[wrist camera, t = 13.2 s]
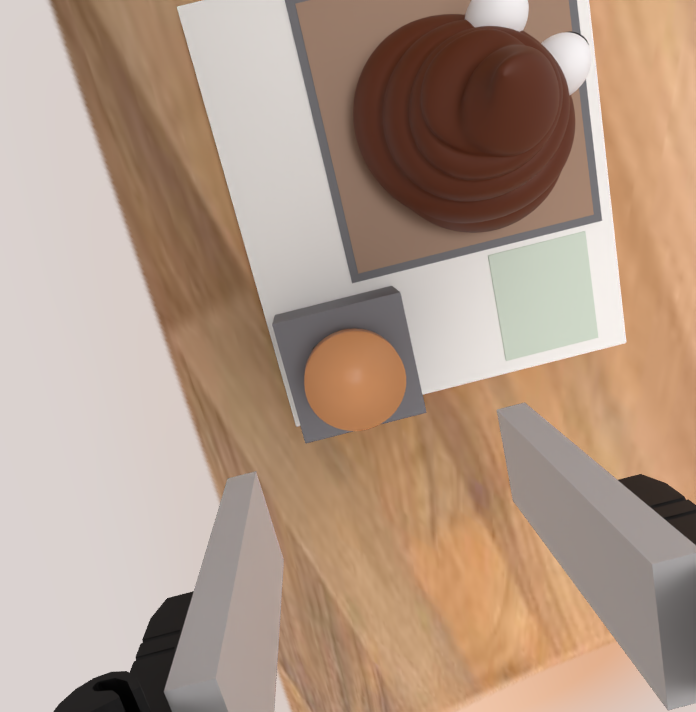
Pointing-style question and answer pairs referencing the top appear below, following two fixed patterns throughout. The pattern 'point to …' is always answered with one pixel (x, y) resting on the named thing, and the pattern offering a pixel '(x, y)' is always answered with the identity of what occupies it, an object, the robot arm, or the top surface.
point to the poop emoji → (470, 114)
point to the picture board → (393, 207)
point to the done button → (354, 379)
